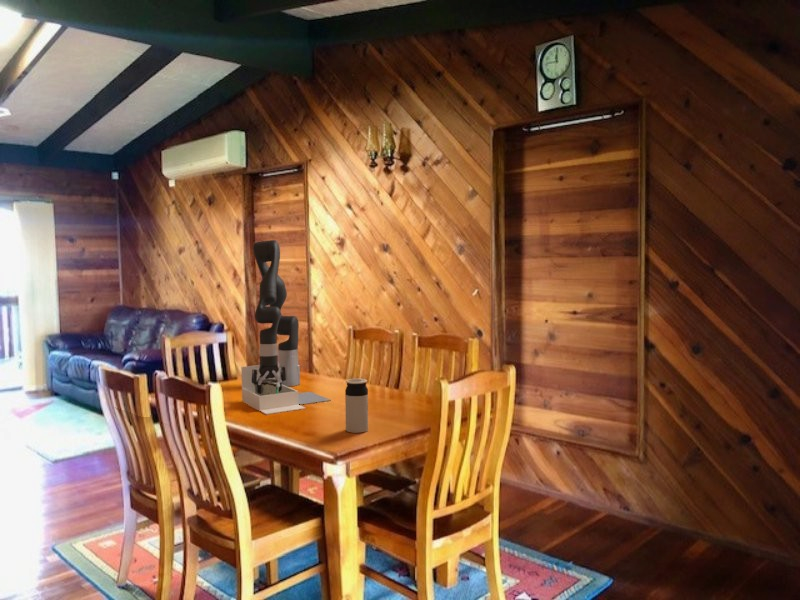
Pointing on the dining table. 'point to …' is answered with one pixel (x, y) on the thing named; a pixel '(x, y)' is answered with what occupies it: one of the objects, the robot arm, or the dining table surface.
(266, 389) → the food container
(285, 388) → the carton
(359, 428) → the travel mug
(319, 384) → the dining table surface
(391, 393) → the dining table surface
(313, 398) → the slate mat
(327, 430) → the dining table surface
